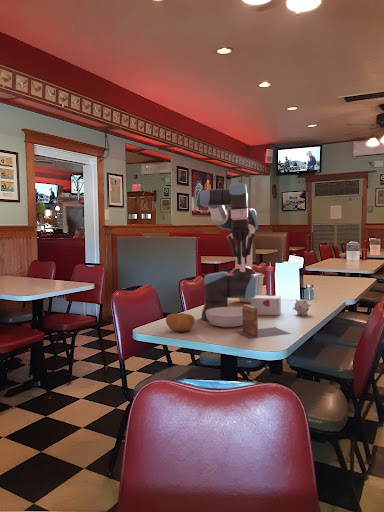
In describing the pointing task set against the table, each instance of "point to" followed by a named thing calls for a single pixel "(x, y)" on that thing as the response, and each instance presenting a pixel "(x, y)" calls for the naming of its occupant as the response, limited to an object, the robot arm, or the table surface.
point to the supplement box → (267, 304)
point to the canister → (259, 288)
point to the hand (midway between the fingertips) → (242, 271)
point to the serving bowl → (225, 316)
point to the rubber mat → (265, 333)
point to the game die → (301, 307)
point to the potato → (180, 322)
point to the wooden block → (250, 320)
